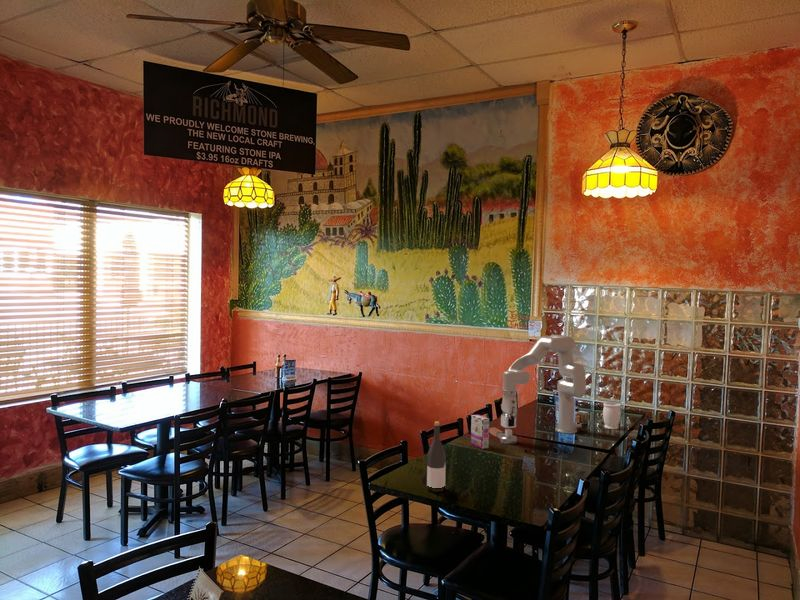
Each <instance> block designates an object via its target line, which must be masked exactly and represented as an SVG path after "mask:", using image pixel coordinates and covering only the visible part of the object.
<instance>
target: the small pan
mask: <svg viewBox="0 0 800 600" xmlns="http://www.w3.org/2000/svg"><path fill="white" fill-rule="evenodd" d="M489 434H491V435H492V436H494V437H495V438H498V439H499V441H500V443H501V444H503V443H504V444H503V445H516V444H517V441H518V439H517V438H518V437H517V436H516V435H513V430H512V428H505V429H504V432H503V431H502V430H500V429H498V428H497V427H494V426H493V427H489ZM515 443H516V444H515Z"/></svg>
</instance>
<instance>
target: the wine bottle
mask: <svg viewBox="0 0 800 600" xmlns="http://www.w3.org/2000/svg"><path fill="white" fill-rule="evenodd" d="M440 427H441V425H440V421H434V425H433V439H432V440H433V441H432V442H431V444H430V446H429V448H428V451H427V456H426V458H427V459H426V466H427V467H426V487H427V486H429V487H432V488H442V487H444V486H445V487H446V464H447V463H446V460H447V459H446V458H447V455H446V451H445V447H444V445H443V443H442V441H441V439H440V436H441V435H440V434H441V433H440V431H441V429H440Z"/></svg>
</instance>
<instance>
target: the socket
mask: <svg viewBox="0 0 800 600" xmlns="http://www.w3.org/2000/svg"><path fill="white" fill-rule="evenodd" d="M511 414H513V413H511ZM511 416H512V415H511ZM509 419H510V418H509V414H507V413H505V414H503V413H502V414H500V426H501V427H502V428H505V429H512V428H514V429H515V428H517V416H516V417H515V419H514V426H511V427H509Z"/></svg>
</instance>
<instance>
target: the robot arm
mask: <svg viewBox="0 0 800 600" xmlns="http://www.w3.org/2000/svg"><path fill="white" fill-rule="evenodd" d="M575 346H576V340H575V339H574V338H573V337H572V336H568V335H561V334H551V335H549V336H546V335H542V336H540V337H539V338H538V339H537V340H536V341H535V343H534V344H533V346H532V347H531V349H530V350H529V351H528V352H527V353H526V354H524V355H522V356H521V357H519V358H517V359H516V360H514V362H513V363H512V364H511V366H510V367H509V368H508V370H504V372H503V374H502V400H501V410H502V411H501V413H502V414H505V413H507V414H509V418H510V419H509V427H511V426H514V419H515V417H516V418H517V414H518V400H517V384H518V385H519V384H521V385H526V384H528V383H529V382H530V380H531V374H530V373H529V372H528V371H526V370H523V369H525V368H527V367H530V366H535V365H538V364H540V363H541V361H543V358H544V357H545V356H546V355H547V353H548V352H552V353H557V359H558V373H559V375H560V376H562V377H564V378H561V379H560V380H559V381H558V382H557V386H556V387H557V388H556V390H557V394H558V418H557V419H558V420H557V421H558V422H557V424H558V425H557V426H556V427H555V429H554V430H555V431H556V432H557V433H562V434H568V435H569V434H576V433H577V432H578V430H577V428H582V427H583V426H582V424H581V423H579V424H578V423H575V420H576V419H575V418H576V400H575V398H580V399H581V398H583V397H584V396H585V394H586V392H587V382H586V381H587V379H586V376H587V375H586V369H585V367H584V366H583V364H580V363H577V362H574V356H573V349H574V348H575ZM511 413H512V414H511ZM511 415H512V416H511Z"/></svg>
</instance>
